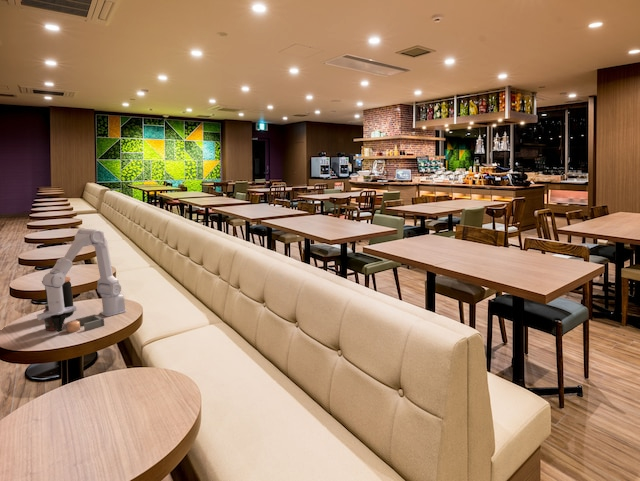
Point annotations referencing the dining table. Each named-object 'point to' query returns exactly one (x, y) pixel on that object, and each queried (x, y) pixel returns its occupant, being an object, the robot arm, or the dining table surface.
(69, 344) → the dining table surface
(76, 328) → the tan rounded knob
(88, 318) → the dock
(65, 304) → the coffee jar
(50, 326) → the supplement bottle
